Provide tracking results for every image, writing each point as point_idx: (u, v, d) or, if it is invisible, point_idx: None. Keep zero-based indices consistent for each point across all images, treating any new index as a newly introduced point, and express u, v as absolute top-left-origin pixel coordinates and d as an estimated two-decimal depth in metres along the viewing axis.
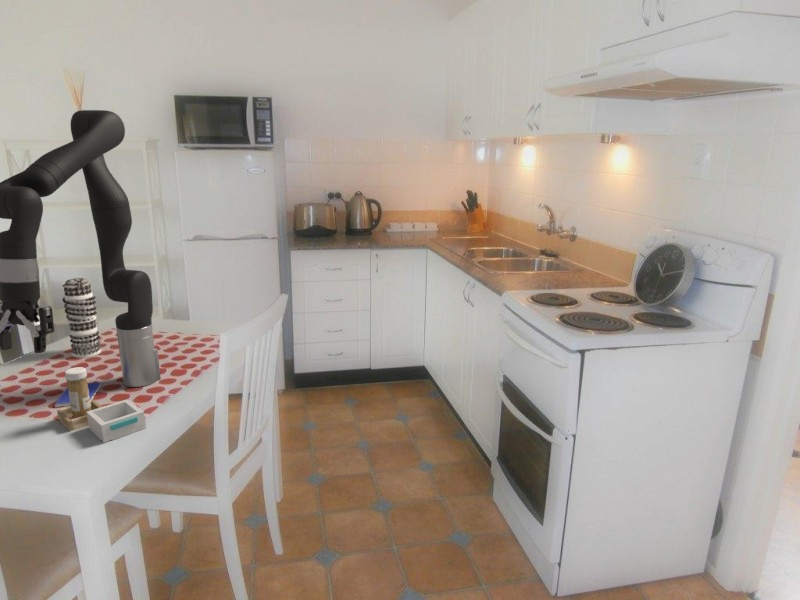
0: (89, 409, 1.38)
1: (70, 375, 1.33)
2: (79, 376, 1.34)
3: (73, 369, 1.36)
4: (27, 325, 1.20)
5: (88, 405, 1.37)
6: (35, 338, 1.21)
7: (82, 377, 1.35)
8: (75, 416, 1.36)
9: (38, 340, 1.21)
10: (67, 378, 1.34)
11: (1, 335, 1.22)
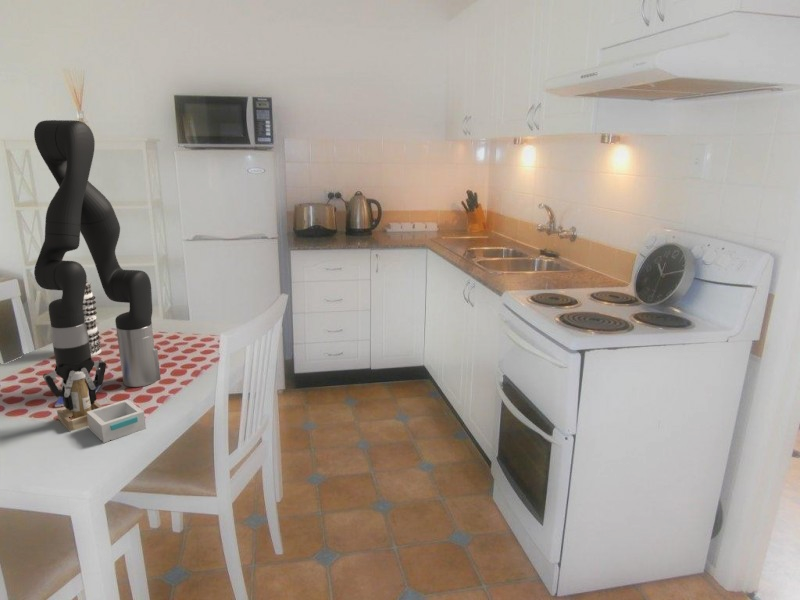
0: (89, 409, 1.38)
1: None
2: (79, 376, 1.34)
3: None
4: (88, 380, 1.37)
5: (88, 405, 1.37)
6: (91, 391, 1.38)
7: (82, 377, 1.35)
8: (75, 416, 1.36)
9: (93, 392, 1.39)
10: None
11: (69, 397, 1.35)
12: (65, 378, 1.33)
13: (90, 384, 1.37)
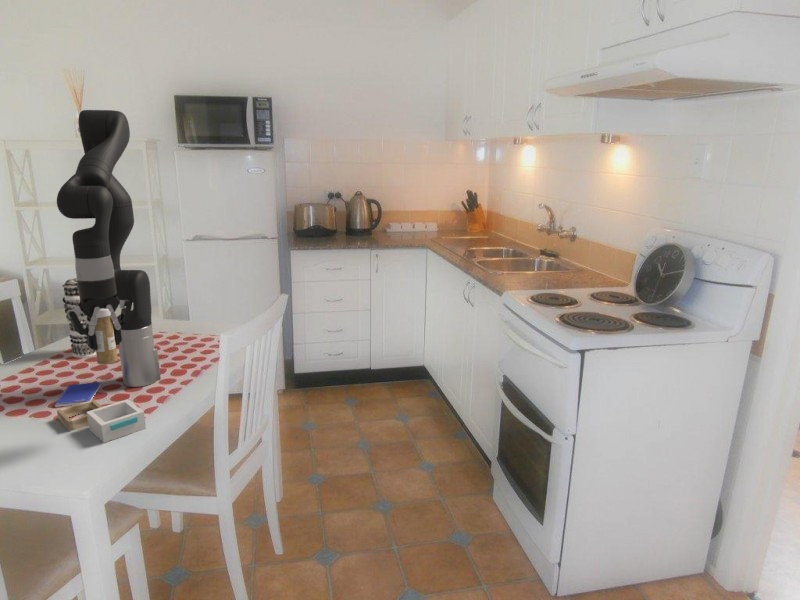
0: (114, 350, 1.29)
1: None
2: (104, 313, 1.25)
3: None
4: (114, 319, 1.28)
5: (113, 345, 1.28)
6: (117, 331, 1.29)
7: (108, 315, 1.26)
8: (99, 357, 1.28)
9: (118, 333, 1.30)
10: None
11: (94, 336, 1.26)
12: (89, 315, 1.24)
13: (115, 323, 1.29)
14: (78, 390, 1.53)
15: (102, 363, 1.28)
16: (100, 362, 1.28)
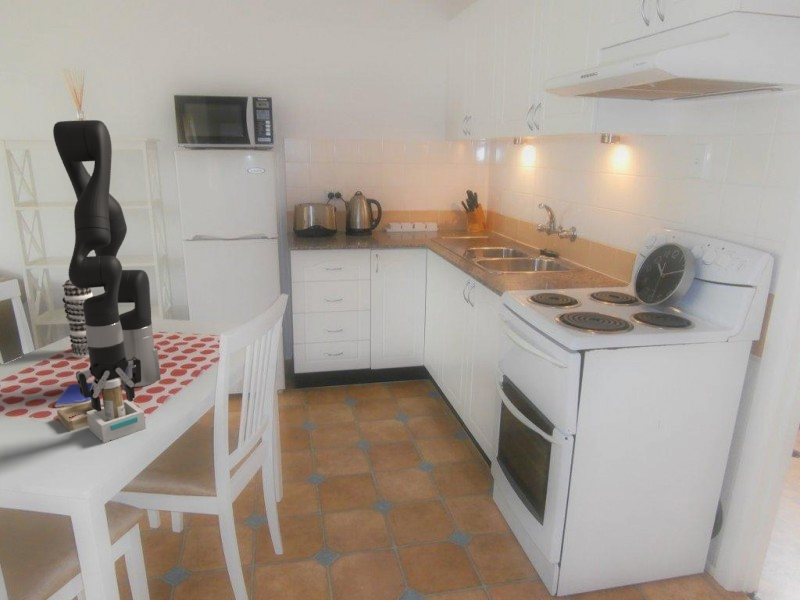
0: None
1: (105, 383, 1.29)
2: (114, 384, 1.30)
3: None
4: (125, 379, 1.32)
5: (122, 413, 1.33)
6: (130, 388, 1.34)
7: (117, 385, 1.31)
8: None
9: (132, 390, 1.35)
10: None
11: (98, 398, 1.29)
12: (98, 377, 1.28)
13: (128, 382, 1.33)
14: (78, 390, 1.53)
15: None
16: None
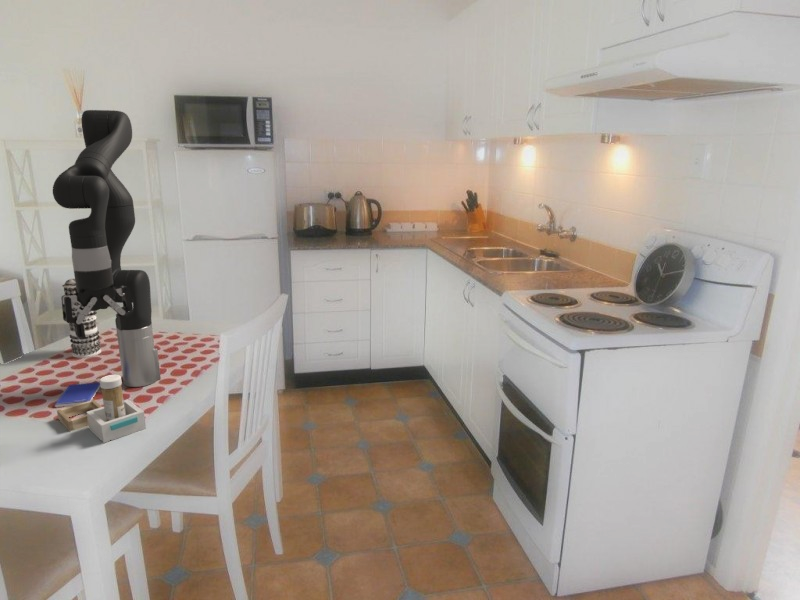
0: None
1: (105, 383, 1.29)
2: (114, 384, 1.30)
3: (108, 377, 1.32)
4: (115, 306, 1.28)
5: (122, 413, 1.33)
6: (121, 316, 1.30)
7: (118, 385, 1.31)
8: None
9: (123, 318, 1.31)
10: (102, 386, 1.30)
11: (82, 325, 1.24)
12: (84, 303, 1.24)
13: (119, 310, 1.29)
14: (78, 390, 1.53)
15: None
16: None
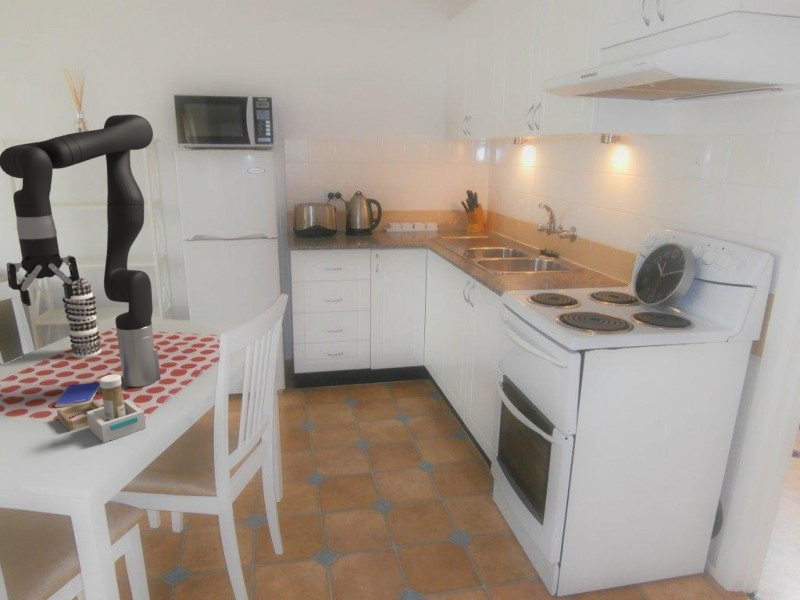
0: None
1: (105, 383, 1.29)
2: (114, 384, 1.30)
3: (108, 377, 1.32)
4: (61, 275, 1.32)
5: (122, 413, 1.33)
6: (68, 285, 1.35)
7: (117, 385, 1.31)
8: None
9: (69, 287, 1.35)
10: (102, 386, 1.30)
11: (27, 292, 1.28)
12: (29, 271, 1.28)
13: (65, 279, 1.34)
14: (78, 390, 1.53)
15: None
16: None
